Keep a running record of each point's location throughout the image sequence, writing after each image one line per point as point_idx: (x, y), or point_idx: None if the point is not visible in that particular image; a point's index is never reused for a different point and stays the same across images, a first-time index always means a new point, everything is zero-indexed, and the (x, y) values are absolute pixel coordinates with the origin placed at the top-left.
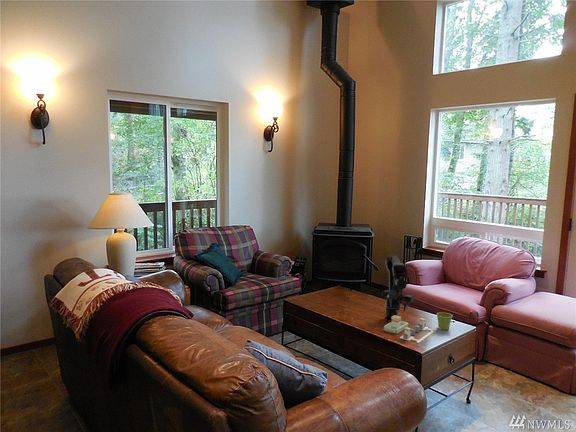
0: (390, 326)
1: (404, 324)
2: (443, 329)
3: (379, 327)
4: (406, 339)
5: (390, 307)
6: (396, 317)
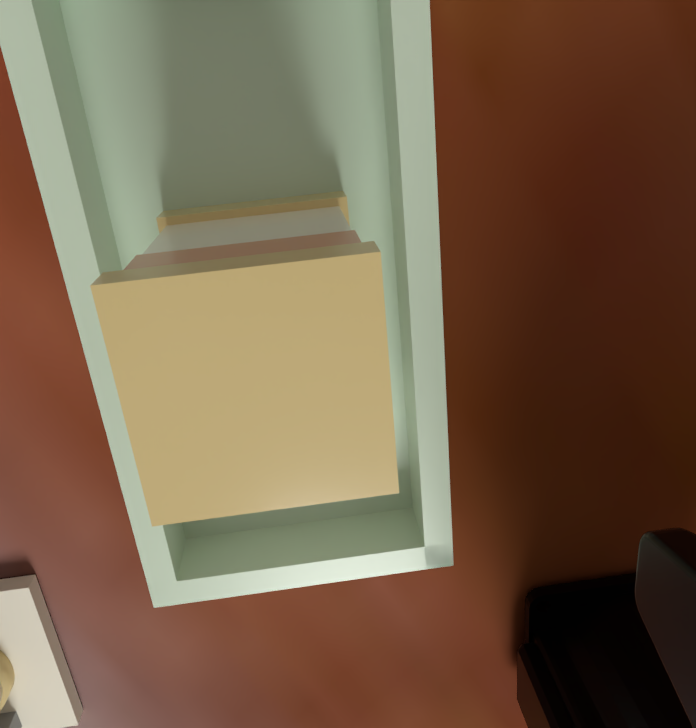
0: (391, 253)
1: None
2: None
3: (573, 40)
4: None
5: (653, 567)
6: (217, 351)
